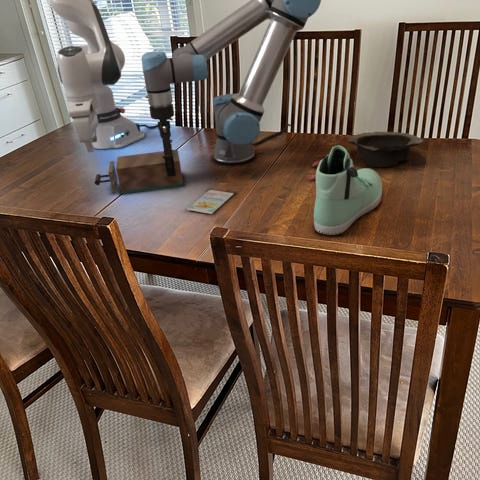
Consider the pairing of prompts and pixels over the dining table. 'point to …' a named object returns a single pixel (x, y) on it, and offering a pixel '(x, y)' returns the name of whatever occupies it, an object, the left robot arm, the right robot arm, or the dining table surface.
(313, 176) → the candy cane
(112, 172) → the drawer
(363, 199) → the sneaker
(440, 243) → the dining table surface
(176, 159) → the cabinet
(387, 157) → the stone bowl
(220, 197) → the baking ingredient package
